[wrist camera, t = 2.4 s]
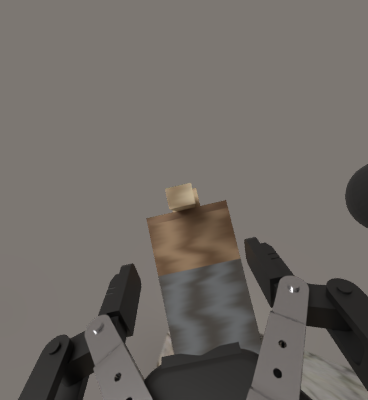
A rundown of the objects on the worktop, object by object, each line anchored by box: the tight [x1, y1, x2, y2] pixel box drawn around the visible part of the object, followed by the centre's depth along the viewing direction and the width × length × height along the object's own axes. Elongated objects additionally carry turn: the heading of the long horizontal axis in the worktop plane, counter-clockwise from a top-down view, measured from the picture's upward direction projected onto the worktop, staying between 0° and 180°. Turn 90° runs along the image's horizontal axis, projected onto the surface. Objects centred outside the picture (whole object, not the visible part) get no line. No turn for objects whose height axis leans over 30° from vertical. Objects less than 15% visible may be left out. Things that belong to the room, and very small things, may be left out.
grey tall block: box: [147, 200, 262, 355], centre depth 36 cm, size 13×15×33 cm
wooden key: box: [165, 183, 200, 212], centre depth 31 cm, size 5×20×4 cm, turn 178°
